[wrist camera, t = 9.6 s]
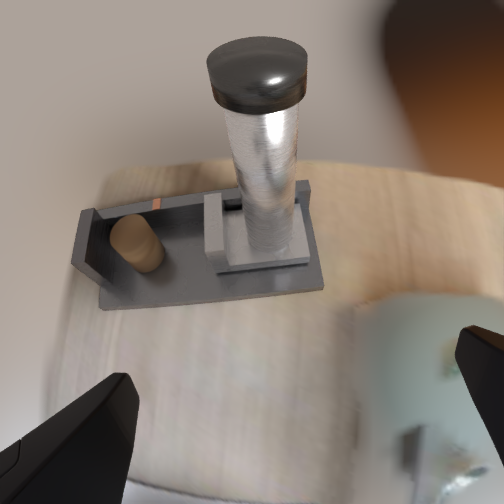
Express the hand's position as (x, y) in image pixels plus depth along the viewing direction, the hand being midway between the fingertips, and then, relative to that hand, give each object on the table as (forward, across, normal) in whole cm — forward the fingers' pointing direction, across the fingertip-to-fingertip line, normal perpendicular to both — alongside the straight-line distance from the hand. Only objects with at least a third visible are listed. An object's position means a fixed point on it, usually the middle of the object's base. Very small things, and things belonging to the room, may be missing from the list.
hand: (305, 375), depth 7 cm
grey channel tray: (+17, +5, +2) cm, 18 cm away
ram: (+16, +1, +1) cm, 16 cm away
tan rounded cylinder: (+16, +10, +2) cm, 19 cm away
